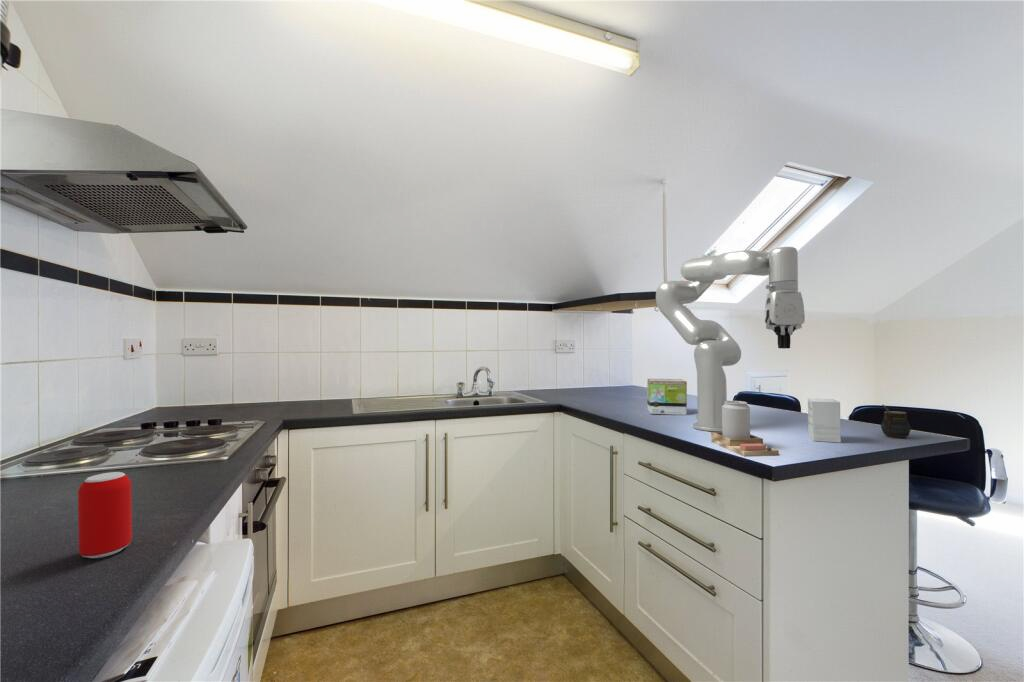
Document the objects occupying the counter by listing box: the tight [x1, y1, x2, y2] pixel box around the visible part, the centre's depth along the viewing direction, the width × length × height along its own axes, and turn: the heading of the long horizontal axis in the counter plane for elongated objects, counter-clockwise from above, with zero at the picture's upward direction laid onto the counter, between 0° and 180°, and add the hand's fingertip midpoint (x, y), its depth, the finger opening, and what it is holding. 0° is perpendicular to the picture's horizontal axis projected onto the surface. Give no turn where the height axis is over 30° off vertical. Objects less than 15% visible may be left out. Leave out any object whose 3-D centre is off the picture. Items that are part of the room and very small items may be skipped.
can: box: [721, 400, 751, 439], centre depth 132 cm, size 8×8×12 cm
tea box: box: [646, 378, 688, 416], centre depth 191 cm, size 15×10×15 cm, turn 81°
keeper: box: [740, 443, 767, 450], centre depth 122 cm, size 2×6×1 cm, turn 94°
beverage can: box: [77, 471, 133, 559], centre depth 69 cm, size 6×6×12 cm
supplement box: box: [807, 397, 842, 444], centre depth 138 cm, size 7×7×13 cm
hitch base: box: [710, 431, 780, 457], centre depth 129 cm, size 17×10×3 cm, turn 4°
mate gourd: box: [880, 404, 912, 439], centre depth 141 cm, size 7×8×10 cm
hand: (784, 348), depth 134 cm, fingers closed
